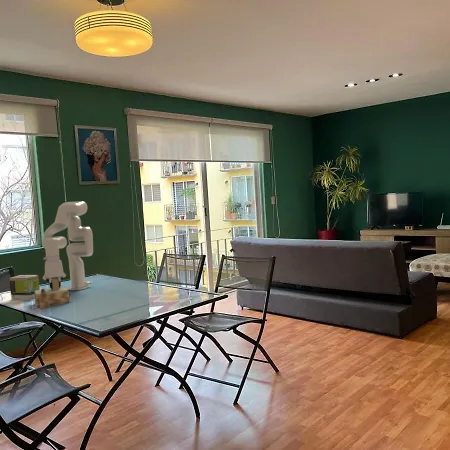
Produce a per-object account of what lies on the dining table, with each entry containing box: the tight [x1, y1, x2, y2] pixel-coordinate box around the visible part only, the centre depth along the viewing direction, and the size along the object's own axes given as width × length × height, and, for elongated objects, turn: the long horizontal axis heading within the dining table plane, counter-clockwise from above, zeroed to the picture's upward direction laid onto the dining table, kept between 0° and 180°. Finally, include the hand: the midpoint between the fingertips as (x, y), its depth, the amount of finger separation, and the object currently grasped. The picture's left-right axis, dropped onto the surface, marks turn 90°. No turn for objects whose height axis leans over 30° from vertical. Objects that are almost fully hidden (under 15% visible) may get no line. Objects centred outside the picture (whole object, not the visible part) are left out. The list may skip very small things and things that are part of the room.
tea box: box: [8, 274, 41, 301], centre depth 287 cm, size 15×10×15 cm, turn 71°
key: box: [40, 288, 47, 297], centre depth 257 cm, size 2×10×3 cm, turn 28°
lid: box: [35, 278, 69, 296], centre depth 271 cm, size 18×12×8 cm, turn 118°
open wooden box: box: [34, 290, 70, 309], centre depth 270 cm, size 18×16×8 cm
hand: (55, 288), depth 272 cm, fingers closed on lid, 3 cm apart
